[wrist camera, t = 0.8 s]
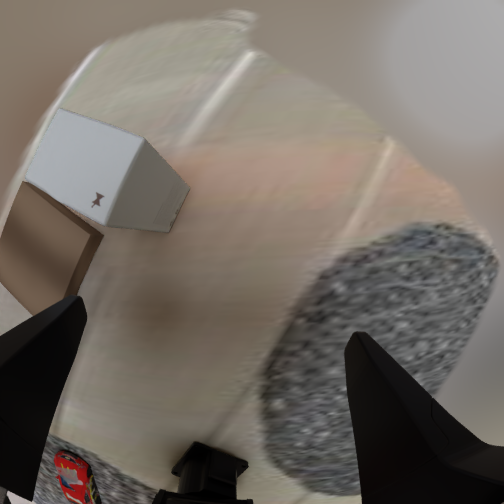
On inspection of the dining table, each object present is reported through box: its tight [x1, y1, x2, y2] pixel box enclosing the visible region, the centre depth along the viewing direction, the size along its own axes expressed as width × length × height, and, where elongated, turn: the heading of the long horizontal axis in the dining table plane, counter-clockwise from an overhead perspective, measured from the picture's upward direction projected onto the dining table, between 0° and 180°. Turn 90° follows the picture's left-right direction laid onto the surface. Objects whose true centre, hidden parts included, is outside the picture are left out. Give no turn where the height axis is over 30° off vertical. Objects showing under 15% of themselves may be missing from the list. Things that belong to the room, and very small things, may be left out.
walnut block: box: [0, 181, 104, 316], centre depth 21 cm, size 10×10×3 cm
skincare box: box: [25, 108, 190, 233], centre depth 16 cm, size 6×4×12 cm
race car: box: [54, 451, 101, 504], centre depth 22 cm, size 13×5×4 cm, turn 170°
